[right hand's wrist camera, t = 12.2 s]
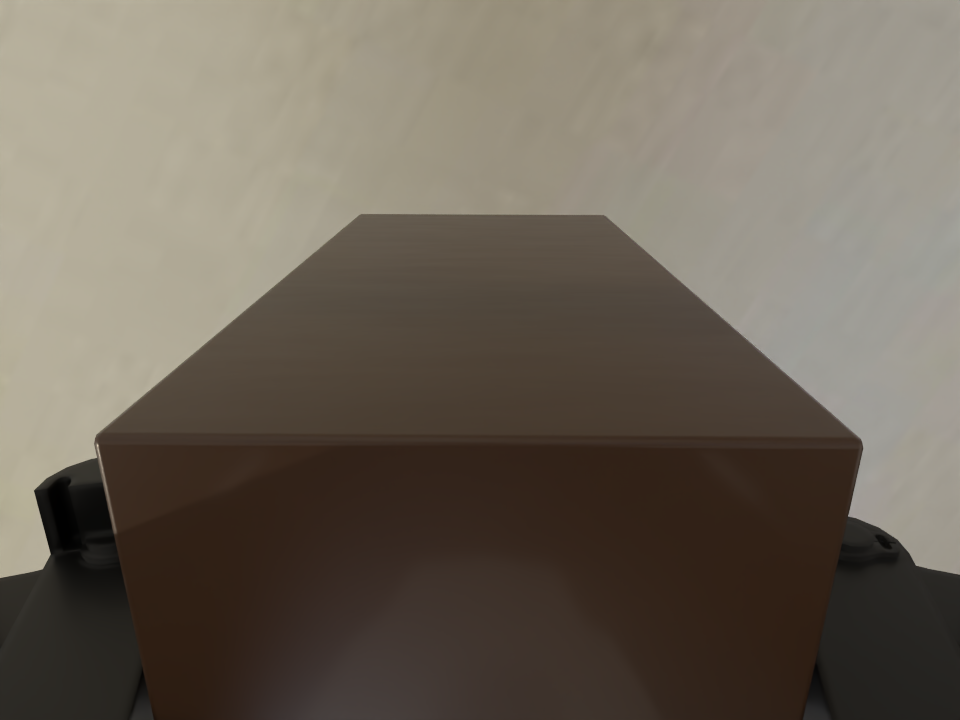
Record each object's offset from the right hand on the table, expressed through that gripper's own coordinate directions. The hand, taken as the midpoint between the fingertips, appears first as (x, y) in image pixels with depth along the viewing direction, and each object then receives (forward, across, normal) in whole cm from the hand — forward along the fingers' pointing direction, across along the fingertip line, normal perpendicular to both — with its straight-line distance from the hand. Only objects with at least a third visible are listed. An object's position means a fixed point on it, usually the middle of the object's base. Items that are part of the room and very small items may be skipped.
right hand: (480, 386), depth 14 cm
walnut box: (+1, 0, -13) cm, 13 cm away
